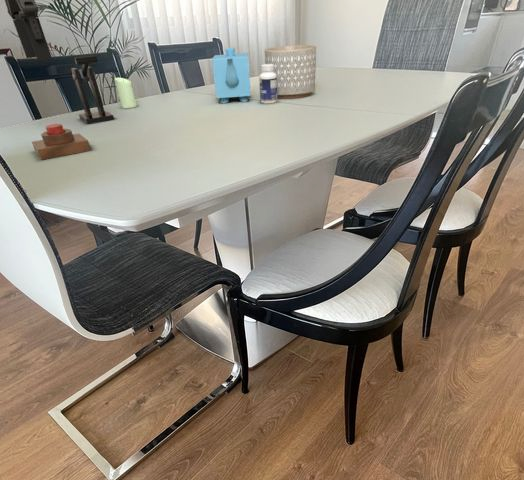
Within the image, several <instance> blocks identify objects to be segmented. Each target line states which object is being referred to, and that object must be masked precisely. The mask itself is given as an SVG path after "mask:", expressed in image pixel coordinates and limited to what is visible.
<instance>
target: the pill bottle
mask: <svg viewBox="0 0 524 480" xmlns="http://www.w3.org/2000/svg"><path fill="white" fill-rule="evenodd" d="M260 70H261V73H259V76H258V77H259V80H258V81H259V98H260V104H265V105H267V104H268V105H269V104H270V105H271V104H276V103H277V102H278V98H277V75H276V73H274V64H265V63H263V64H261V65H260Z"/></svg>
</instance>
